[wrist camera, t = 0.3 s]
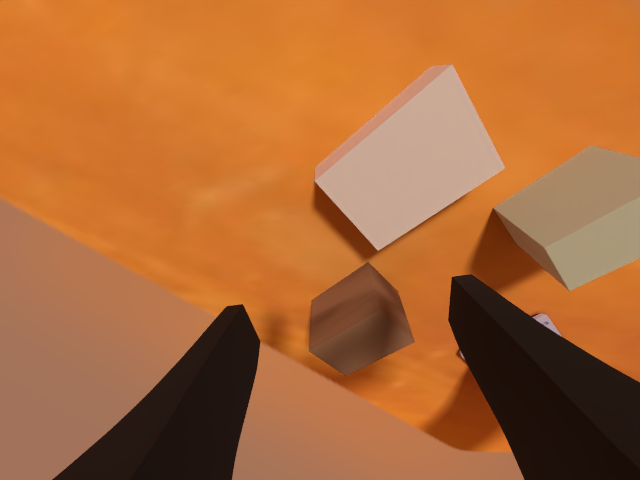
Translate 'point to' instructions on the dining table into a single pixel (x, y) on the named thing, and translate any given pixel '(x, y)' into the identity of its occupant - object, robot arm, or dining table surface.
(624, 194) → the sage brick
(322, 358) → the walnut brick
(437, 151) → the pale grey brick
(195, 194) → the dining table surface
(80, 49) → the dining table surface
